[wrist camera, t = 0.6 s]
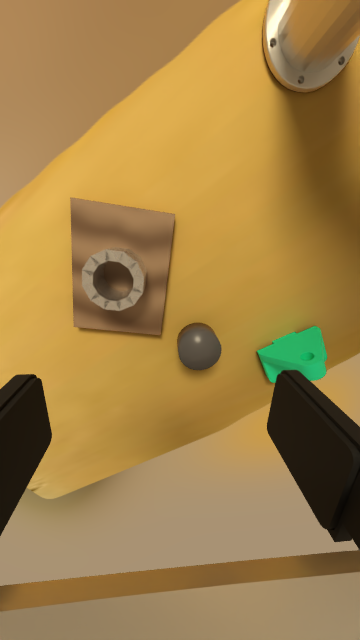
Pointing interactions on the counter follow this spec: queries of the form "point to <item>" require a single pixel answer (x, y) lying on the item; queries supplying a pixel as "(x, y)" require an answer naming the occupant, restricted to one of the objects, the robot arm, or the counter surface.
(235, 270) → the counter surface
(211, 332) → the grey sphere
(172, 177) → the counter surface
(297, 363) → the camera mount
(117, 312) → the pipe flange plate
